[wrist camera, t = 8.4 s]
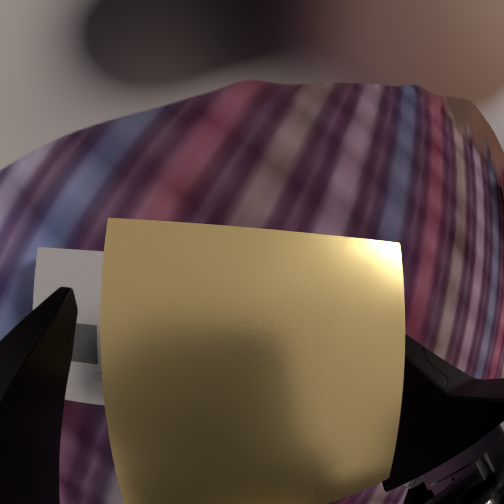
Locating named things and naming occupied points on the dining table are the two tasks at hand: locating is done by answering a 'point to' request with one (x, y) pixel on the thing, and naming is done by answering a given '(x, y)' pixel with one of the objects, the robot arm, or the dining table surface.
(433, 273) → the dining table surface
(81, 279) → the bracket
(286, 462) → the gold block
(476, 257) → the dining table surface
